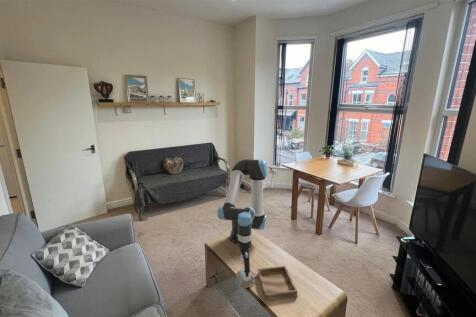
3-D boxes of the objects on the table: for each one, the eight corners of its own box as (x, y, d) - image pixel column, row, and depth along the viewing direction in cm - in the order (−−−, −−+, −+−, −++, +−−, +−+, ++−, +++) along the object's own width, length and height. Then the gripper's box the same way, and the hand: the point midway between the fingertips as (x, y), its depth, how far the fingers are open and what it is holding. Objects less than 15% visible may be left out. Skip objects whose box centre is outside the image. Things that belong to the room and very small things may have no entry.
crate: (257, 274, 145) (257, 268, 144) (285, 271, 147) (285, 265, 146) (265, 301, 126) (265, 295, 125) (297, 297, 128) (297, 291, 127)
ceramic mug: (241, 291, 132) (242, 280, 130) (235, 281, 139) (235, 270, 137) (257, 284, 137) (258, 274, 135) (250, 275, 144) (250, 265, 142)
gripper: (235, 228, 142) (235, 258, 147) (241, 254, 118) (241, 288, 123) (247, 227, 143) (247, 257, 148) (255, 252, 119) (255, 287, 124)
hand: (244, 271), depth 135 cm, fingers open, 13 cm apart
